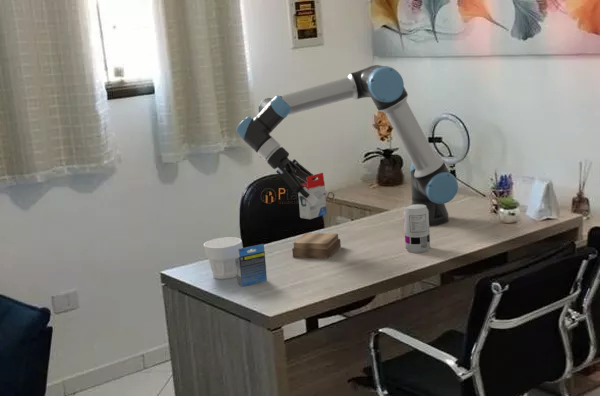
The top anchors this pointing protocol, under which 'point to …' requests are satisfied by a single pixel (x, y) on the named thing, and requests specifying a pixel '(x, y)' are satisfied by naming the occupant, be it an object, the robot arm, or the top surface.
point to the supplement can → (416, 228)
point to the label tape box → (251, 266)
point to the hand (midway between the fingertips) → (320, 199)
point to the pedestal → (316, 245)
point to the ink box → (319, 192)
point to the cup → (223, 256)
